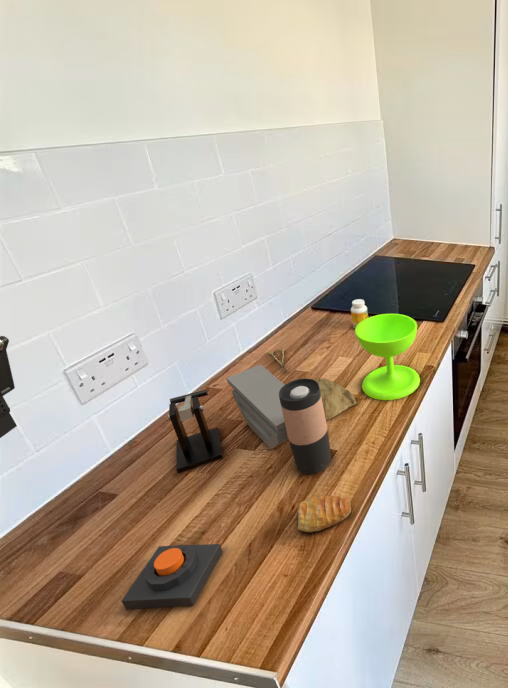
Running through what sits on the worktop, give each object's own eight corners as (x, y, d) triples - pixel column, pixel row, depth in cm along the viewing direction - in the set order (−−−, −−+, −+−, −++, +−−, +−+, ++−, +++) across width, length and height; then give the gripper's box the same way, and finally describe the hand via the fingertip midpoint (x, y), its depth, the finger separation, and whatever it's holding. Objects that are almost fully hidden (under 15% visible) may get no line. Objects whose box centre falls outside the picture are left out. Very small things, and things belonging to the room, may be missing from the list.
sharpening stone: (236, 413, 108) (226, 377, 103) (268, 398, 114) (260, 364, 109) (285, 464, 95) (276, 426, 90) (319, 444, 100) (312, 407, 95)
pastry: (351, 496, 88) (348, 483, 86) (351, 525, 82) (349, 511, 81) (300, 508, 85) (297, 494, 83) (297, 538, 79) (294, 525, 78)
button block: (125, 609, 67) (116, 594, 66) (162, 554, 75) (155, 539, 74) (193, 605, 68) (186, 590, 67) (222, 551, 76) (217, 537, 75)
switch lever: (172, 405, 100) (169, 396, 99) (208, 395, 104) (205, 386, 103) (166, 425, 89) (163, 415, 89) (207, 414, 93) (204, 404, 92)
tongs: (280, 374, 124) (279, 368, 123) (269, 355, 133) (267, 350, 132) (296, 369, 126) (295, 363, 125) (283, 351, 135) (282, 345, 134)
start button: (151, 576, 69) (148, 569, 68) (166, 555, 72) (163, 548, 71) (175, 575, 69) (172, 568, 68) (189, 554, 72) (186, 547, 71)
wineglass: (401, 360, 133) (397, 308, 125) (431, 384, 123) (429, 329, 115) (351, 380, 123) (344, 325, 115) (380, 408, 113) (374, 349, 105)
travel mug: (289, 461, 95) (271, 388, 86) (322, 444, 100) (309, 373, 92) (304, 481, 91) (287, 406, 82) (338, 462, 96) (326, 389, 87)
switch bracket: (177, 443, 98) (160, 399, 93) (219, 431, 102) (205, 387, 97) (178, 473, 91) (159, 426, 85) (222, 458, 95) (207, 412, 90)
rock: (358, 386, 117) (318, 385, 114) (357, 376, 109) (315, 375, 107) (354, 426, 112) (312, 427, 109) (353, 419, 105) (308, 419, 102)
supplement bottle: (353, 323, 152) (350, 298, 148) (369, 322, 154) (366, 297, 149) (352, 330, 148) (349, 305, 143) (368, 329, 149) (365, 304, 145)
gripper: (3, 284, 61) (69, 415, 71) (-101, 282, 59) (-19, 416, 70) (-56, 308, 54) (27, 449, 64) (-175, 306, 53) (-71, 450, 63)
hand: (3, 431), depth 67 cm, fingers closed
